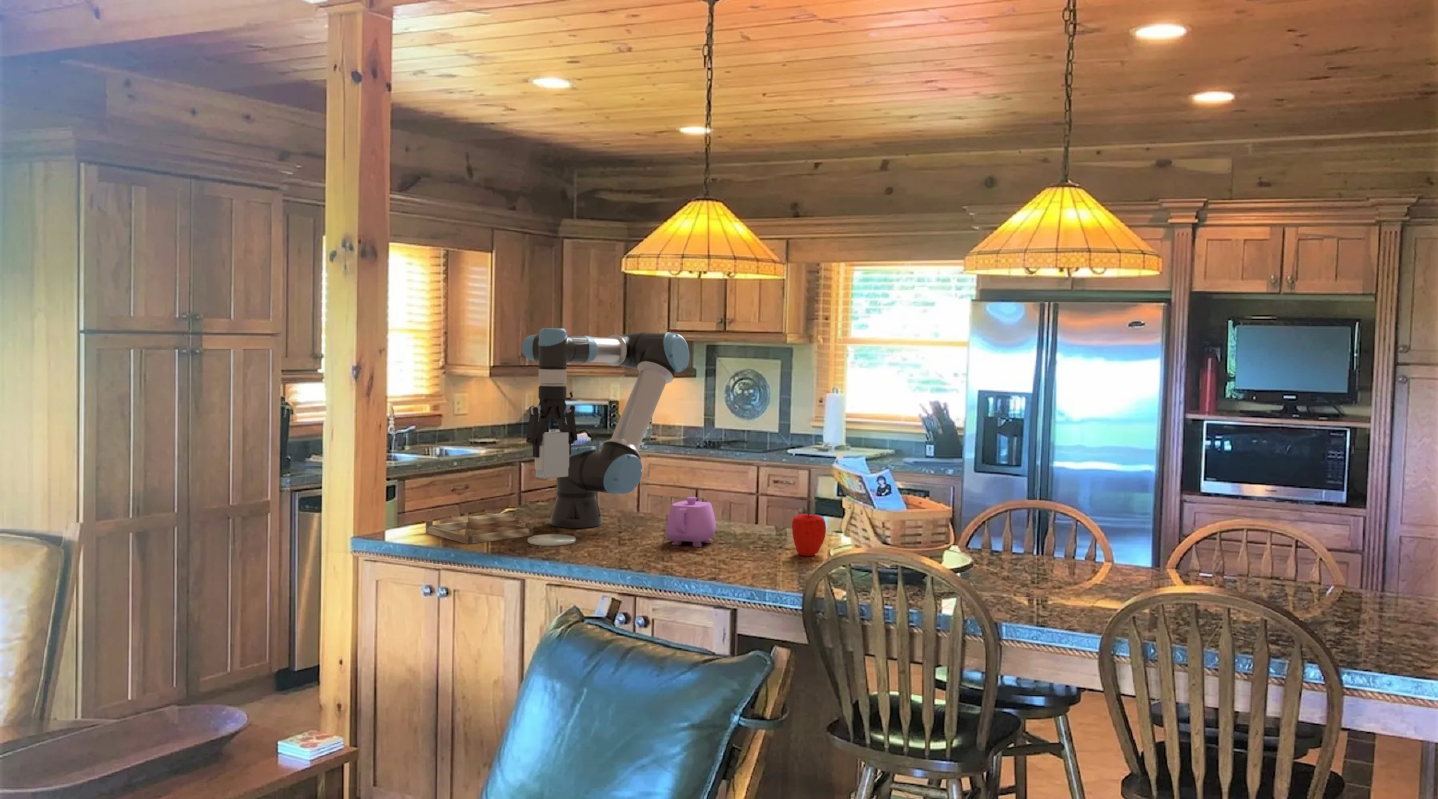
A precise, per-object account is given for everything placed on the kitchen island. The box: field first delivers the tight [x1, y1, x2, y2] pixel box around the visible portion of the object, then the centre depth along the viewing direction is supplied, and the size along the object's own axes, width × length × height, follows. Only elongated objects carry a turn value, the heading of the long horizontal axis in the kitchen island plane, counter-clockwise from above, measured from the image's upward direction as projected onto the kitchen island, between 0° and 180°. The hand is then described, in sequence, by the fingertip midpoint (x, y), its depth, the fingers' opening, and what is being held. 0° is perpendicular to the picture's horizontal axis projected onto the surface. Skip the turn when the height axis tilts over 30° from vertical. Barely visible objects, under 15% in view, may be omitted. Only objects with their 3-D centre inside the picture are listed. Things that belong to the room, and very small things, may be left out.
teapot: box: [665, 496, 717, 548], centre depth 315 cm, size 20×12×13 cm, turn 160°
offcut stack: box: [465, 512, 519, 535], centre depth 319 cm, size 14×5×6 cm, turn 134°
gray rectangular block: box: [535, 431, 569, 479], centre depth 313 cm, size 8×4×12 cm, turn 134°
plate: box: [527, 533, 577, 547], centre depth 314 cm, size 13×13×1 cm
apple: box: [791, 513, 827, 557], centre depth 301 cm, size 9×9×11 cm
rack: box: [425, 512, 534, 545], centre depth 324 cm, size 21×22×4 cm
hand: (552, 468), depth 313 cm, fingers closed on gray rectangular block, 8 cm apart
